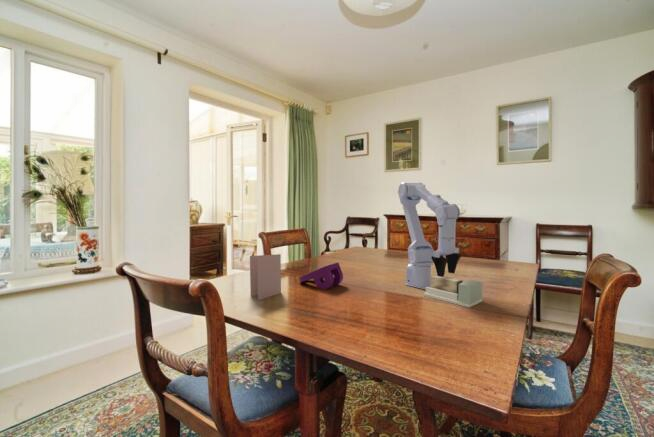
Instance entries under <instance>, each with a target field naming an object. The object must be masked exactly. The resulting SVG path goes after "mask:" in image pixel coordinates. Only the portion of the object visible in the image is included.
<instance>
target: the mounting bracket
mask: <svg viewBox="0 0 654 437" xmlns="http://www.w3.org/2000/svg"><path fill="white" fill-rule="evenodd" d="M312 279H313V280H314V284H315V286H316V287H317V289H318V288H320V290H324V289H325V290H328V289H330V288H331V287H333V286H334V287H335V286H337V285H338V286H339V285H340V284H341V283H342V282H343V279H344V274H343V271H342V269H341V265H340V263H339V262H336V263H335V262H334V263H331V264H328V265H325V266H323V267H320V268H317V269H316V270H313V271H311V272H310V273H309V272H308V273H306V274H304V275H303V276H302V275H301V276H300V277H298V280H299V283H300V284H301V282H302V283H304V282H307V281H310V280H312Z"/></svg>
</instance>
